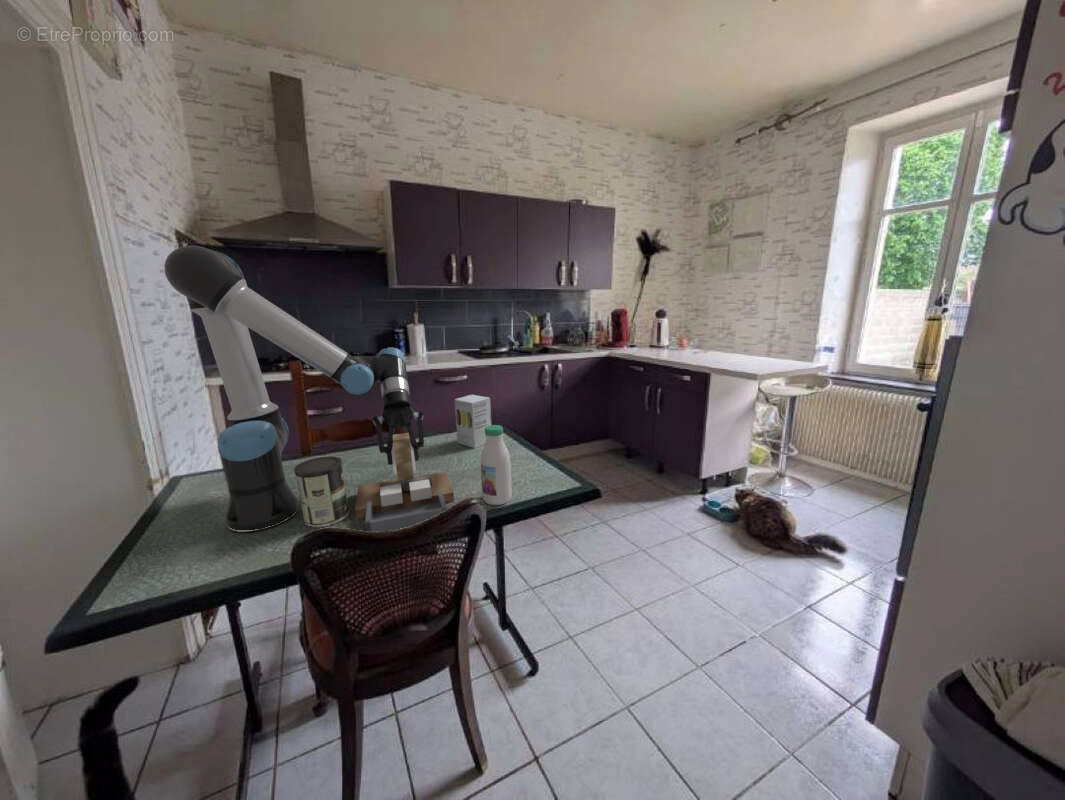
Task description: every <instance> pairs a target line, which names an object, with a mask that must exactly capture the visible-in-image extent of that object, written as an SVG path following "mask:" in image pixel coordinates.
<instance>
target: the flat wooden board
mask: <svg viewBox="0 0 1065 800" xmlns="http://www.w3.org/2000/svg"><path fill="white" fill-rule="evenodd" d="M425 476H431V478H432V486H431V496H432V498H428V499H422V500H417V501H411V495H410V490H408V491H402V499H403V503H400V504H394V505H389V506H383V507H382V504H381V497H380V484H382V483H388V482H394V481H398V478H397V479H393V480H392V479H391V480H385V481H380V482H372V483H366V484H360V485H358V486H357V493H356V494H357V495H356V499H355V506H354V512H355V519H356V520H357V519H364V518H366V509H367V502H370V501H372V508H373V514H374V513H379V512H385V511H390V510H396V509H401V508H407V507H413V506H418V505H424V504H429V503H435V502H439V501H438V490H440V489H441V490H442V493H443V496H444V500H445V503H451V502H455V496H454V495H455V494H454V489H453V488H452V484H451V482H450V478H449V476H448V473H447V471H443V472H435V473H430V474H423V475H417V476H413V477H414V478H418V477H425Z"/></svg>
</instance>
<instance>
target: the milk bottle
mask: <svg viewBox="0 0 1065 800" xmlns="http://www.w3.org/2000/svg"><path fill="white" fill-rule="evenodd" d="M485 436H486V443H485V444H484V446H483V449H482V451H481V456H480V473H481V474H480V475H481V476H480V477H481V491H482V492H481V493H482V499H483V501H484V503H486V504H487V505H491V506H492V505H493V506H500V505H504V504H507V503H509V502H510V501H511V500H512V497H513V496H512V493H513V492H512V470H511V469H512V468H511V467H512V466H511V458H510V457H511V456H510V452H509V450H508V448H507V446H506V444H505V442H504V438H503V436H504V428H503V426H502V425H499V424H498V425H497V424H491V425H490V426H487V427H486V428H485Z"/></svg>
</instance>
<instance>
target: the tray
mask: <svg viewBox="0 0 1065 800" xmlns="http://www.w3.org/2000/svg"><path fill="white" fill-rule="evenodd" d="M438 501H439V502H435V503H429V504H424V505H418V506H413V507H407V508H401V509H396V510H390V511H385V512H379V513H374V514H373V508H372V501H370V502H367V509H366V517H365V522H364V525H365V531H389V530H395V529H400V528H404V527H408V526H411V525H414V524H416V523H419V522H422V521H424V520H426V519H429V518H431V517H433V516H435V515H437V514H439V513H441V512H443V511H444V510H446V509H447V510H448V507H447V504H446V503H447V502H446V503H445V500H444V496H443V493H442V490H441V489H440V490H438Z"/></svg>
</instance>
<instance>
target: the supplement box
mask: <svg viewBox="0 0 1065 800" xmlns="http://www.w3.org/2000/svg"><path fill="white" fill-rule="evenodd" d="M454 408H455V409H454V411H455V412H454V413H455V423H456V438H457V439H456V441H457V444H460V445H462V446H466V447H470V448H472V449H477V448H479V447H481V446H483V445H484V446H485V443H486V436H485V428H486V427H487V426H490V425H492V410H491V409H492V408H491V398H490V397H488V396H481V395H476V394H469V395H465V396H462V397H459V398H455V399H454Z"/></svg>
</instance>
